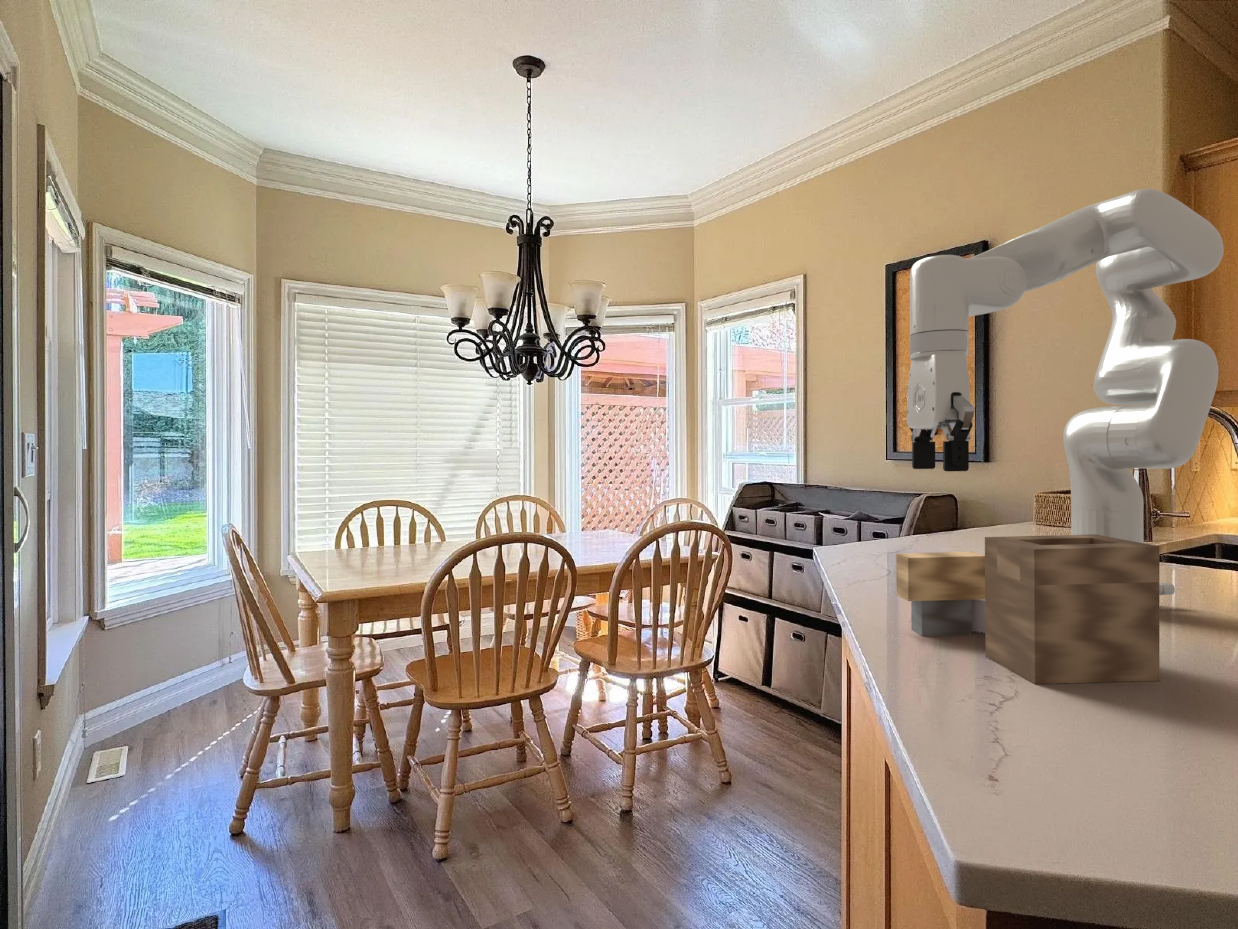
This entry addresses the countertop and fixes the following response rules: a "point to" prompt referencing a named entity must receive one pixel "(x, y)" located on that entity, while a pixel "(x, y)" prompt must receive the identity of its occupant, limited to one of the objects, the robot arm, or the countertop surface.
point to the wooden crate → (1073, 608)
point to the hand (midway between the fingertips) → (939, 469)
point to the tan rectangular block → (941, 590)
